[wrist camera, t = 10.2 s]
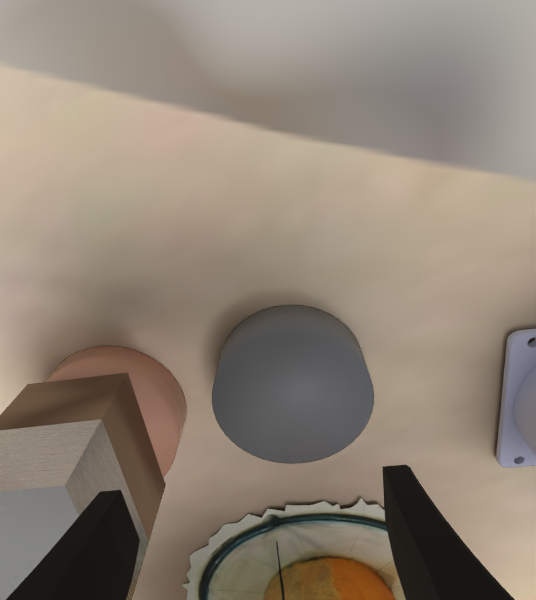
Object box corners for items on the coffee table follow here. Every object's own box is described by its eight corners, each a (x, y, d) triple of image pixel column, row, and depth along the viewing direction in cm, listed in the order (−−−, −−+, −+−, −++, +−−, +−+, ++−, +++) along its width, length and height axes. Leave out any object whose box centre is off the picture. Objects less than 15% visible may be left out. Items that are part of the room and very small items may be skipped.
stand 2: (359, 296, 20) (370, 321, 17) (367, 420, 22) (377, 456, 20) (206, 314, 20) (196, 341, 18) (232, 433, 23) (227, 469, 21)
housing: (127, 372, 19) (64, 485, 13) (165, 484, 21) (126, 618, 16) (27, 384, 19) (-75, 499, 13) (76, 493, 22) (8, 626, 16)
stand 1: (168, 338, 21) (155, 367, 18) (199, 451, 24) (190, 488, 21) (28, 354, 21) (-2, 384, 19) (74, 463, 24) (53, 500, 22)
